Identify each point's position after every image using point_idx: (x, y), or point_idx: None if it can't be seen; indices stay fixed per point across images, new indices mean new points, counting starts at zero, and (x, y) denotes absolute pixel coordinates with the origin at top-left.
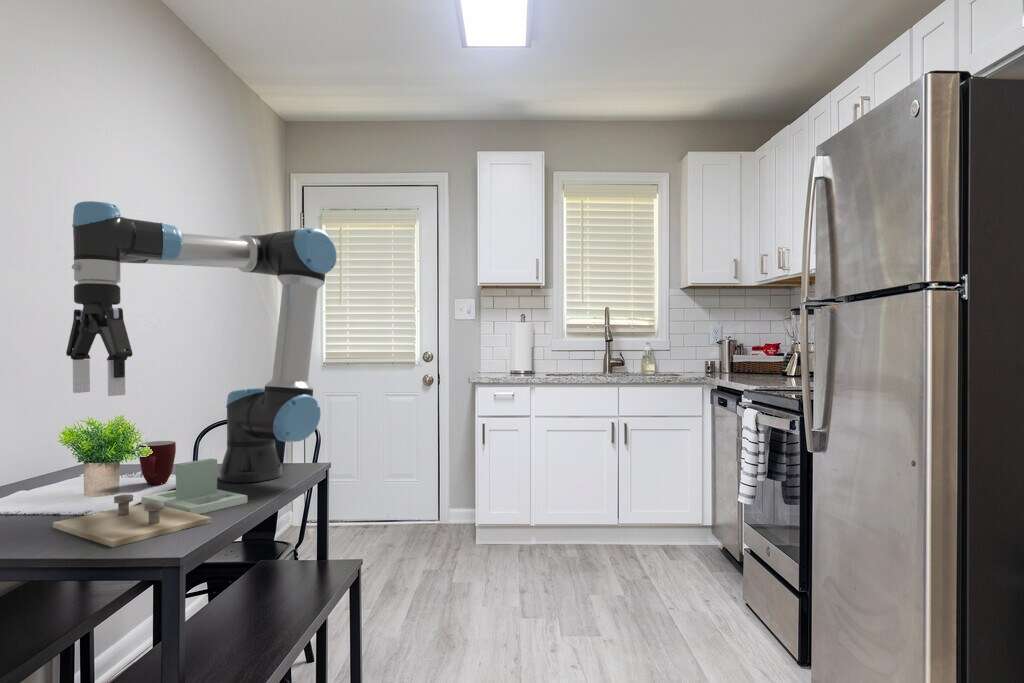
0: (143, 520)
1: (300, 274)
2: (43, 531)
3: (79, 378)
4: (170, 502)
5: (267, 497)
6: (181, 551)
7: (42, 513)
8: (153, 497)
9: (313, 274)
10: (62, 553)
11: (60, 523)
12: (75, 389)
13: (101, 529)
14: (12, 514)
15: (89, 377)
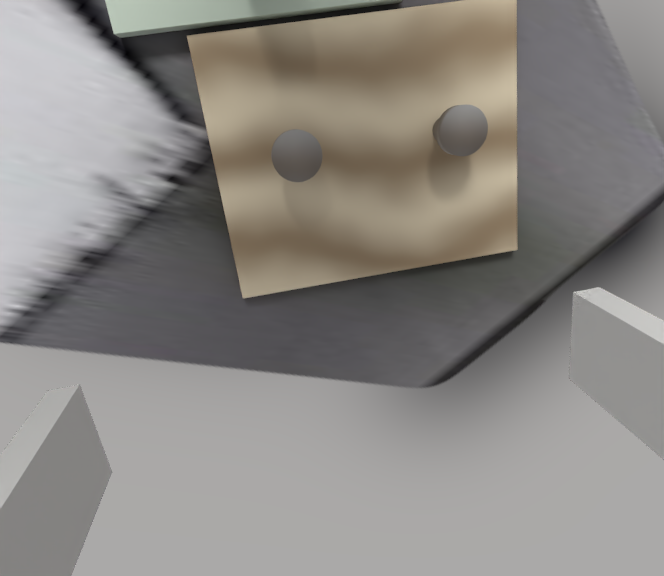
0: (398, 138)
1: None
2: (263, 314)
3: (64, 534)
4: (280, 3)
5: None
6: (649, 160)
7: (48, 280)
8: (159, 9)
9: None
10: (469, 320)
11: (270, 288)
12: (104, 487)
13: (403, 238)
14: (6, 335)
15: (25, 466)
